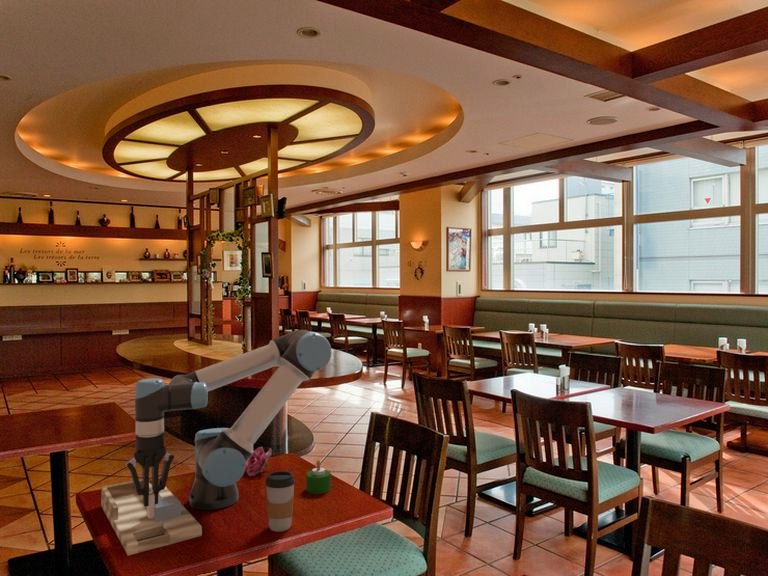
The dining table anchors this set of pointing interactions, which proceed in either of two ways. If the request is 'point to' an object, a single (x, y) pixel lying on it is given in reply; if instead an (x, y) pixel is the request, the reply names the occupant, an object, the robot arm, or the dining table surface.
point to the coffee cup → (280, 499)
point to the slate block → (167, 508)
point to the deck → (144, 519)
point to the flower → (258, 461)
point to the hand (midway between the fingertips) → (150, 516)
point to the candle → (318, 480)
